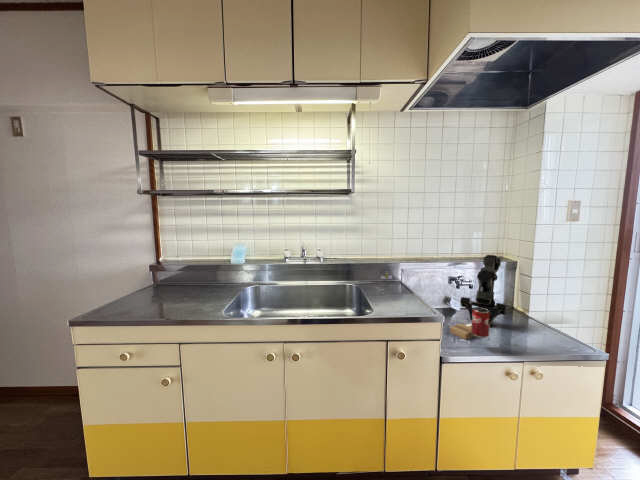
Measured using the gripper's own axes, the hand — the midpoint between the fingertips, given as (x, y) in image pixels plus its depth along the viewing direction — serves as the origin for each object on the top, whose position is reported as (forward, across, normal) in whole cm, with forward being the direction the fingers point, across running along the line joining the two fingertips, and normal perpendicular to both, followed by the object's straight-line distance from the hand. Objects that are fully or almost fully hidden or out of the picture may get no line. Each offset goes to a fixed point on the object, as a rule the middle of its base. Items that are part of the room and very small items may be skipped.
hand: (480, 321), depth 126 cm
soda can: (+4, 0, +6) cm, 7 cm away
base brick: (+1, -8, +17) cm, 19 cm away
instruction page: (-6, -6, +24) cm, 26 cm away
